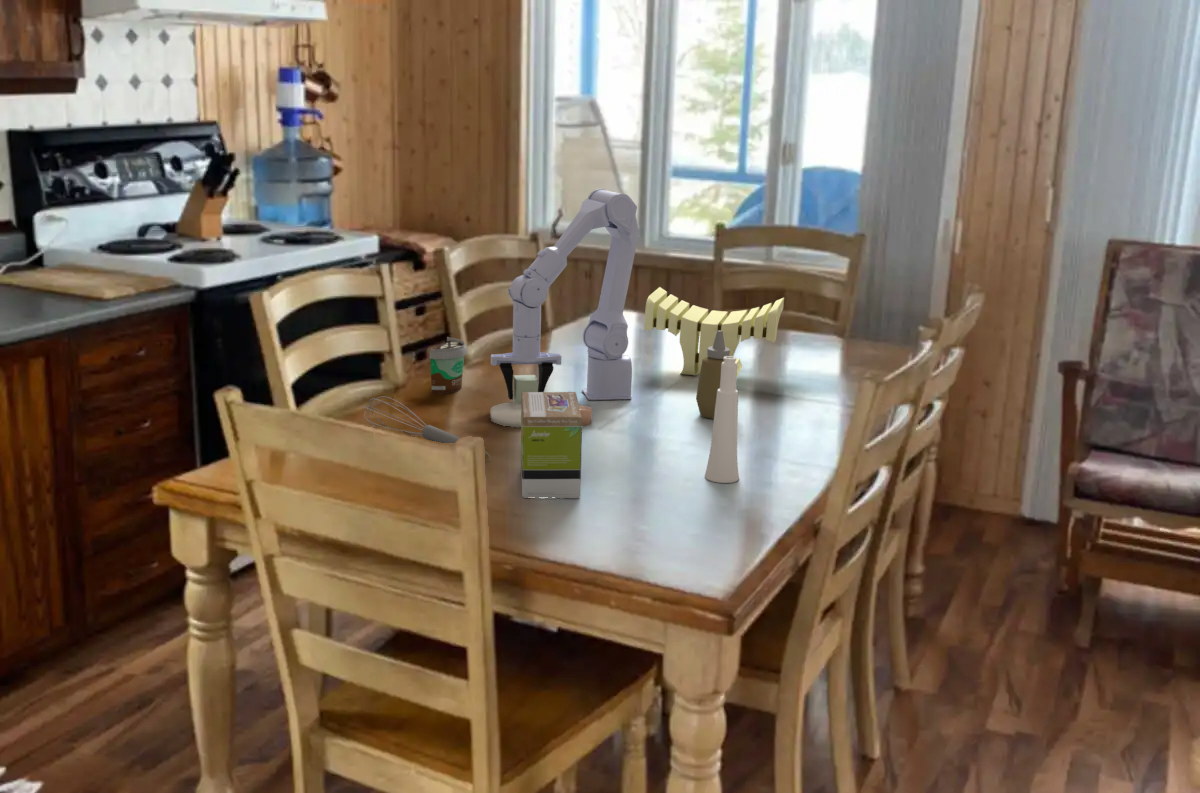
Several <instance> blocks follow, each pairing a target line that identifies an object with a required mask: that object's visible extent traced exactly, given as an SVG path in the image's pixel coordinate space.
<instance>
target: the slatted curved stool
mask: <svg viewBox="0 0 1200 793" xmlns="http://www.w3.org/2000/svg"><path fill="white" fill-rule="evenodd" d="M784 302H785V297H782V298H780V299H777V300H775V302H774V303H773V302H770V303H767V304H764V305H763V306H762V307H761V309H760V306H757V307H753V308H751V309H750V310H749V312H748V309H743V310H735V311H731V312H730V313H729V312H728V311H724V310H723V311H721V310H714V309H713V310H711V311H710V312H709V309H708V308H704V307H700V306H697V305H694V304H693V305H692V306H691V307H690V303H689V302H687V301H685V300H683V299H682V300H680V302H679V297H677V296H675V295H674V294H669V295H668V291H666V290H665V289H664V288H662V287H661V286H659V287H658V288H657V289H655V290H654V291H653V292H652V293H650V294H649V295H648V297H647V299H646V303H645V309H644V310H645V311H644V323H643V324H644V326H643V330H644V331H646V332H647V331H651V330H654V328H655V330H658V331H659V330H661V331H665V330H666V329H667V332H669V333H671V334H672V335H673V336H675V337H677V335H679V344H680V348H681V351H682V358H683V366H682V369H681V370H682V371H680V372H681V373H680V375H687V376H697V375H698V376H699V377H700V371H701V365H702V360H703V359H704V358H705V357H708V356H707V349H708V347H711V346H713V344H714V340H715V337H716V333H717V331H723V336H724V343H725V347H727V348H729V349H730V356H733V357H735V356H734V355H735V353H736V350H737V348H738V346H739V344H740V342H741V343H742V342H744V341H745V340H750V338H751V337H753V339H754V340H755V339H757V340H763V338H765V340H766V341H768V342H771V343H773V344H774V343H775V342H776V340H777V337H778V336H777V334H778V326H779V322H780V317H781V314H782V312H783V310H784V307H785V306H784ZM735 362H736V363H737V376H738V377H739V375H740V373H741V372H740V370H741V368H742V366H743V367H744V365H743V364H742V362H741V359H740V358H736V361H735ZM742 369H743V368H742ZM741 371H742V370H741ZM739 372H740V373H739ZM738 374H739V375H738Z"/></svg>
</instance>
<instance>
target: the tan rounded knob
mask: <svg viewBox="0 0 1200 793" xmlns="http://www.w3.org/2000/svg"><path fill="white" fill-rule="evenodd" d="M579 408H580V412H581V416H582V427H586V426H587V425H588V426H590V425H591V424H592V423H593V422H592V421H593V420H592V417H593V408H592V407H590V406H589V405H582V404H581V405H580V404H579Z"/></svg>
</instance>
